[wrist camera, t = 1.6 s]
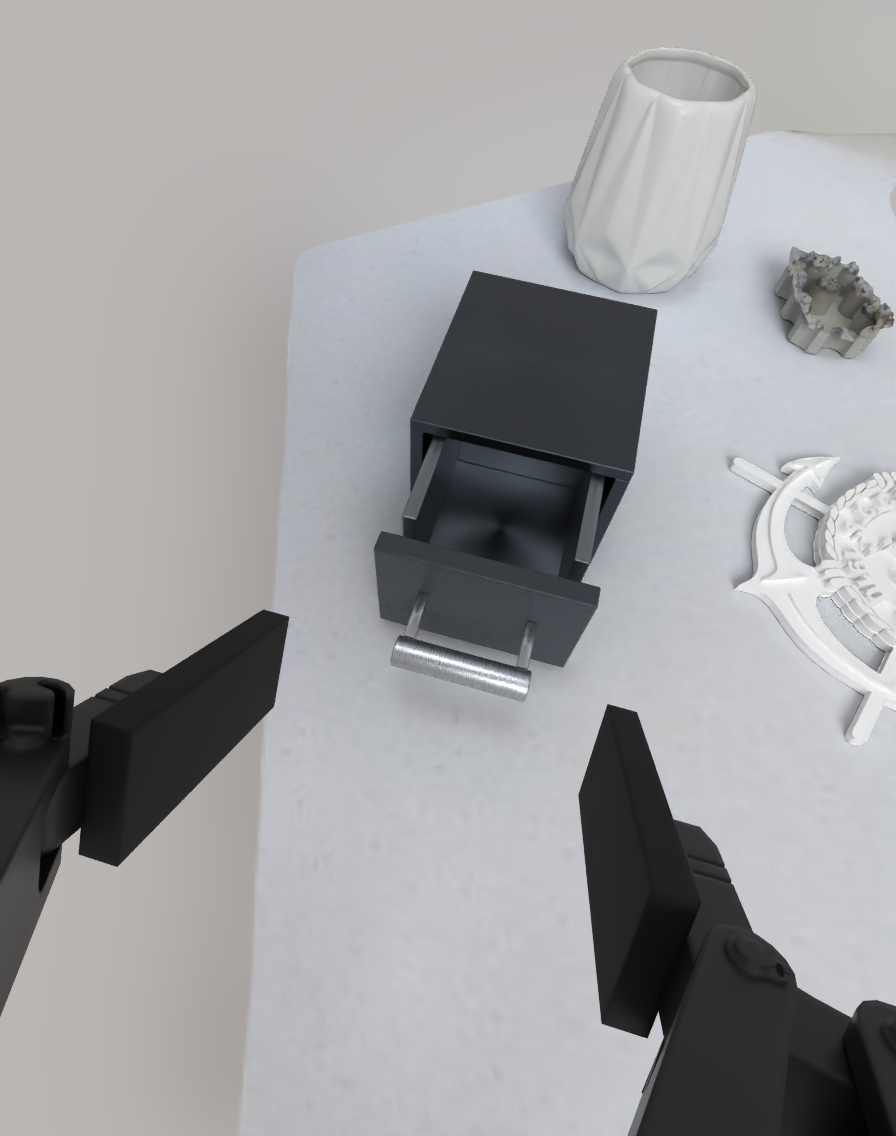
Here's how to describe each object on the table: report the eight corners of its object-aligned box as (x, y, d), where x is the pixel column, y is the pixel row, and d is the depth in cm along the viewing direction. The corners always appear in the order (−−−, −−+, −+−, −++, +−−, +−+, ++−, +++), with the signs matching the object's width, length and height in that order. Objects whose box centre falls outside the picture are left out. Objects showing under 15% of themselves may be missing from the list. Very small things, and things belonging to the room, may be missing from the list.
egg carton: (868, 365, 53) (900, 325, 50) (781, 352, 54) (808, 311, 50) (847, 290, 59) (875, 249, 55) (769, 278, 59) (792, 237, 56)
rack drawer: (550, 737, 34) (584, 689, 27) (355, 683, 35) (343, 623, 28) (595, 495, 43) (629, 414, 36) (439, 457, 44) (444, 372, 38)
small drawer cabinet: (589, 565, 41) (634, 473, 33) (409, 519, 42) (409, 419, 34) (616, 415, 49) (657, 309, 40) (462, 379, 50) (473, 269, 42)
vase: (571, 308, 55) (621, 116, 42) (544, 220, 62) (580, 32, 49) (720, 306, 57) (812, 119, 44) (676, 220, 64) (745, 37, 51)
